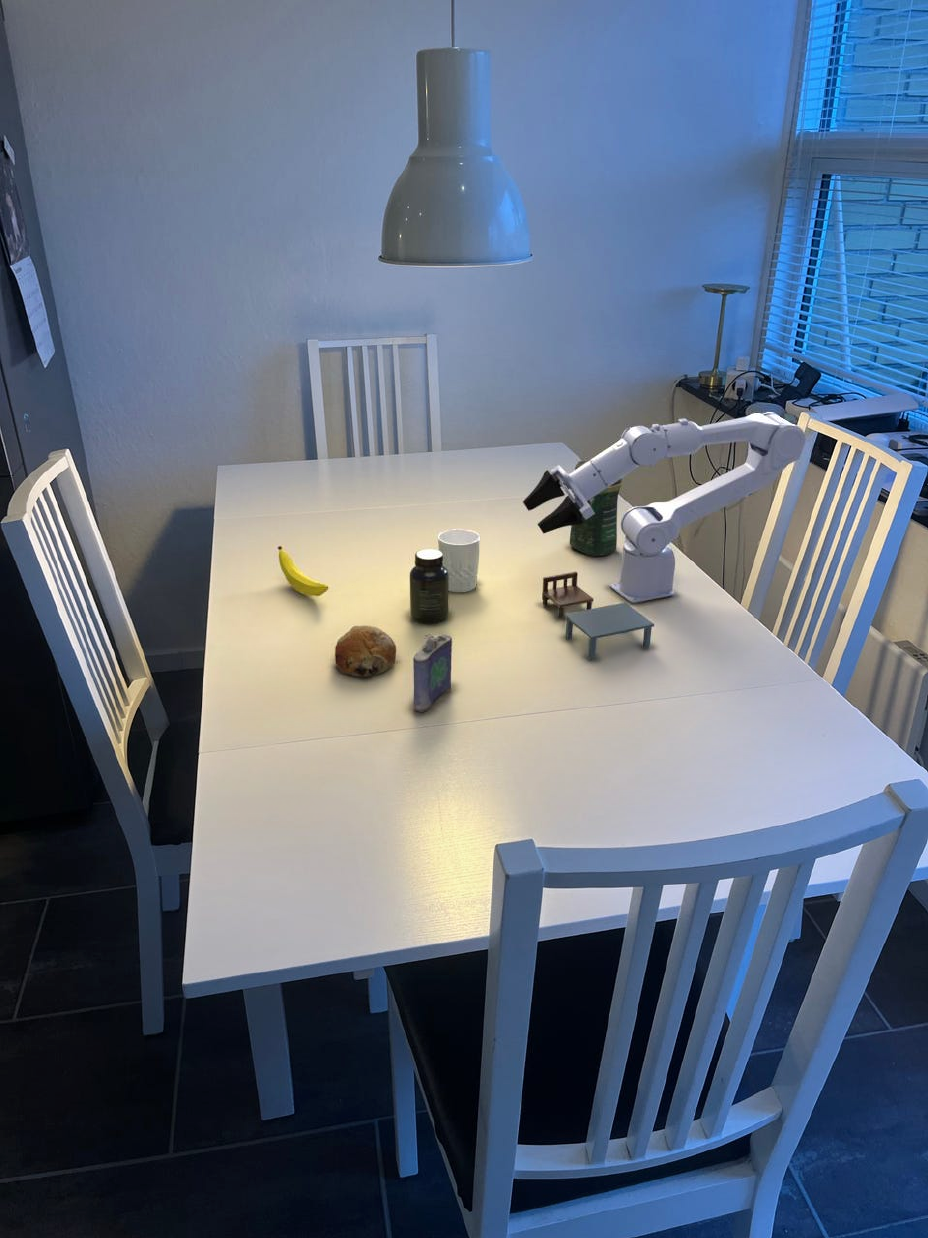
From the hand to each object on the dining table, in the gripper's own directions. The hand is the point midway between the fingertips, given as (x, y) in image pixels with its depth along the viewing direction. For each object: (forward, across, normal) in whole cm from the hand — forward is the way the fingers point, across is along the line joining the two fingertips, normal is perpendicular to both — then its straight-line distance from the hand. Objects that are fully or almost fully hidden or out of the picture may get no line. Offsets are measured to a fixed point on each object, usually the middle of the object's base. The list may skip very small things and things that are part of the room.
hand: (532, 517), depth 170 cm
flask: (+28, +31, -6) cm, 42 cm away
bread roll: (+36, +18, -8) cm, 41 cm away
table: (+1, +22, +13) cm, 26 cm away
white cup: (+19, -6, +9) cm, 22 cm away
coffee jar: (-7, -15, +29) cm, 33 cm away
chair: (+4, +9, +15) cm, 18 cm away
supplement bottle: (+25, +4, +2) cm, 26 cm away
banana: (+43, -11, -6) cm, 45 cm away
